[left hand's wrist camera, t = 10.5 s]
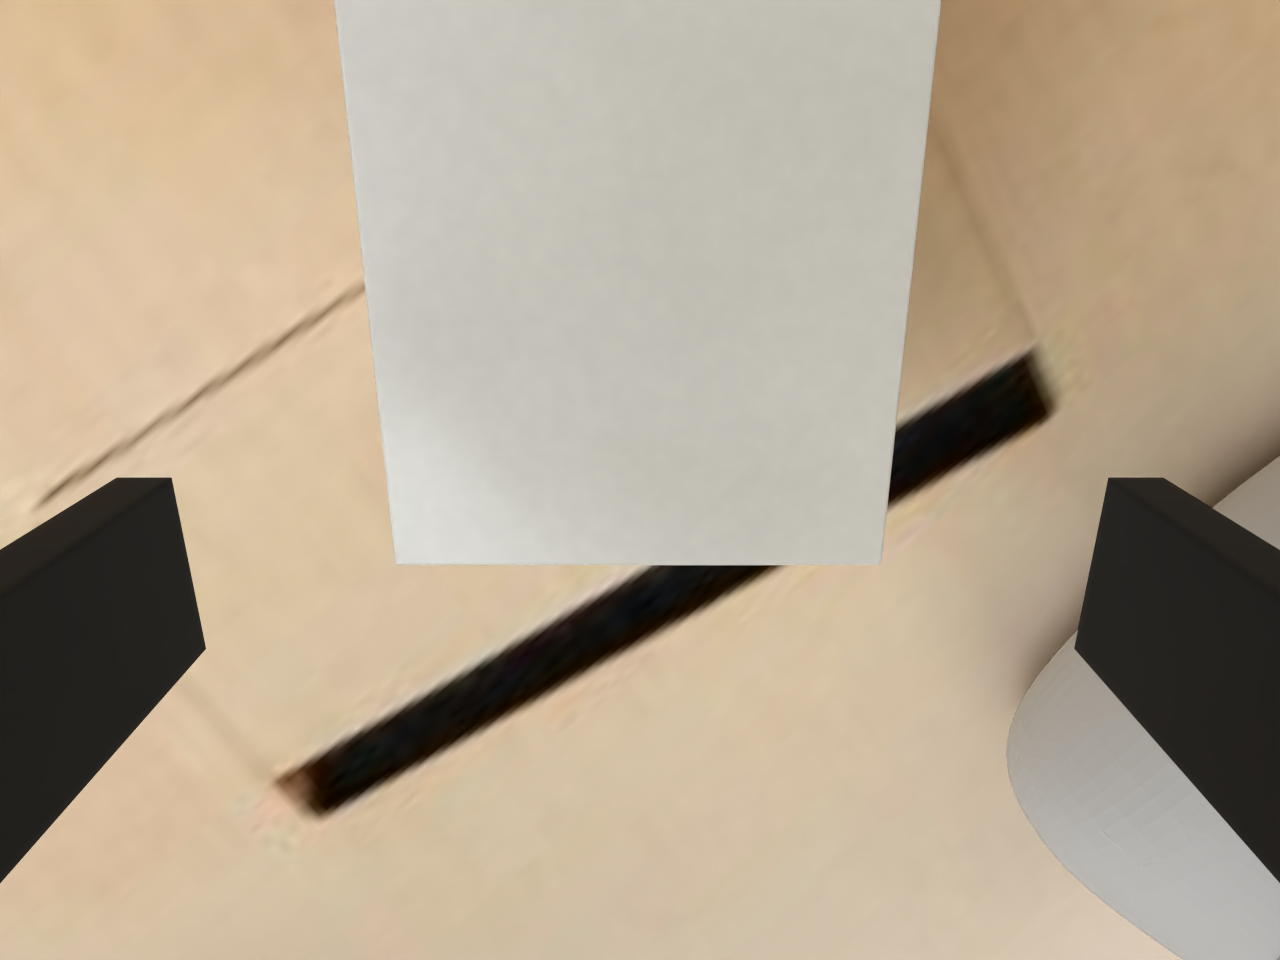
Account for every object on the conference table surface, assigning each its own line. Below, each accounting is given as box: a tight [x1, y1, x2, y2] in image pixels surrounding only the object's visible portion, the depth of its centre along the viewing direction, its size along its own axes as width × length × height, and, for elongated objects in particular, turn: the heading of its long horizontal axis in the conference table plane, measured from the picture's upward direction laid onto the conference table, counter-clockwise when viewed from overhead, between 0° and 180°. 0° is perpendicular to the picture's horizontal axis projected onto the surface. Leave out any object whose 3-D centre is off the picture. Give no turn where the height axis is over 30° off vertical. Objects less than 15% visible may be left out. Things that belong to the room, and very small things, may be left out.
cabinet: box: [334, 0, 941, 565], centre depth 21 cm, size 17×10×11 cm, turn 0°
